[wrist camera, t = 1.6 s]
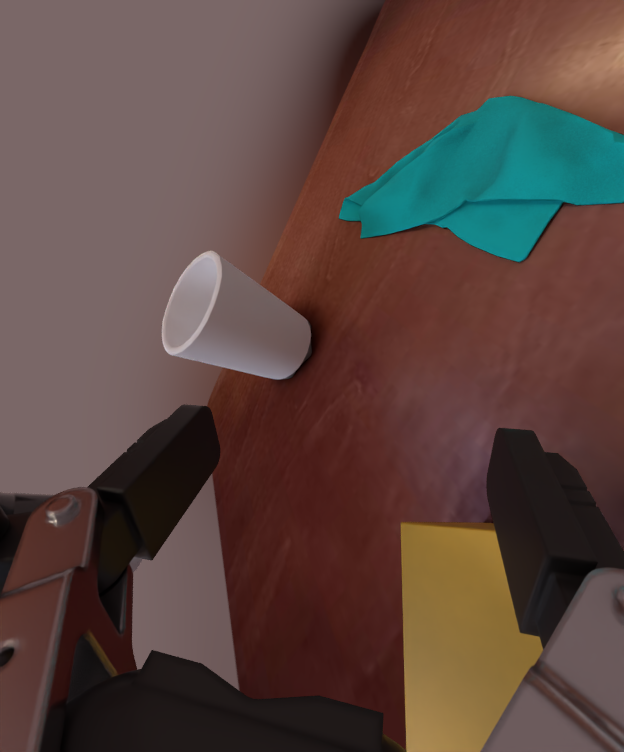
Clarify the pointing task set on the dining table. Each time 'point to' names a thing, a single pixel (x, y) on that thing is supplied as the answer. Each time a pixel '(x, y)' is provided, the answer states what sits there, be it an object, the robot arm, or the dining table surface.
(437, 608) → the block
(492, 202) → the cloth
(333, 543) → the dining table surface
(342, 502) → the dining table surface
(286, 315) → the cup
